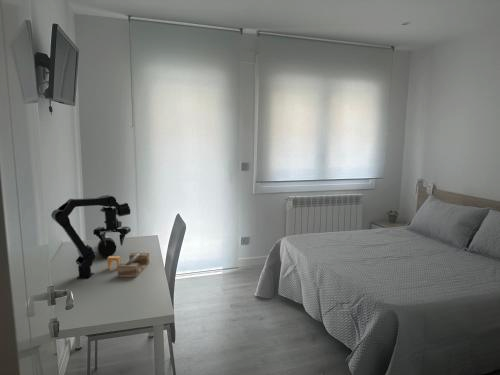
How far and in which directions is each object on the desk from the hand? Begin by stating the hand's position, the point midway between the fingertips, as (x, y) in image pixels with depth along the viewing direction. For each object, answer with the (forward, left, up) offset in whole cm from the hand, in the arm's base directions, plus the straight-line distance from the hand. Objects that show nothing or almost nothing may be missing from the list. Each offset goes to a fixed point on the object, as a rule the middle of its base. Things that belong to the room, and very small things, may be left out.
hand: (113, 245), depth 194 cm
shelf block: (-3, -12, -13) cm, 18 cm away
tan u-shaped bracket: (-1, 0, -13) cm, 13 cm away
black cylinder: (+30, +19, -13) cm, 38 cm away
